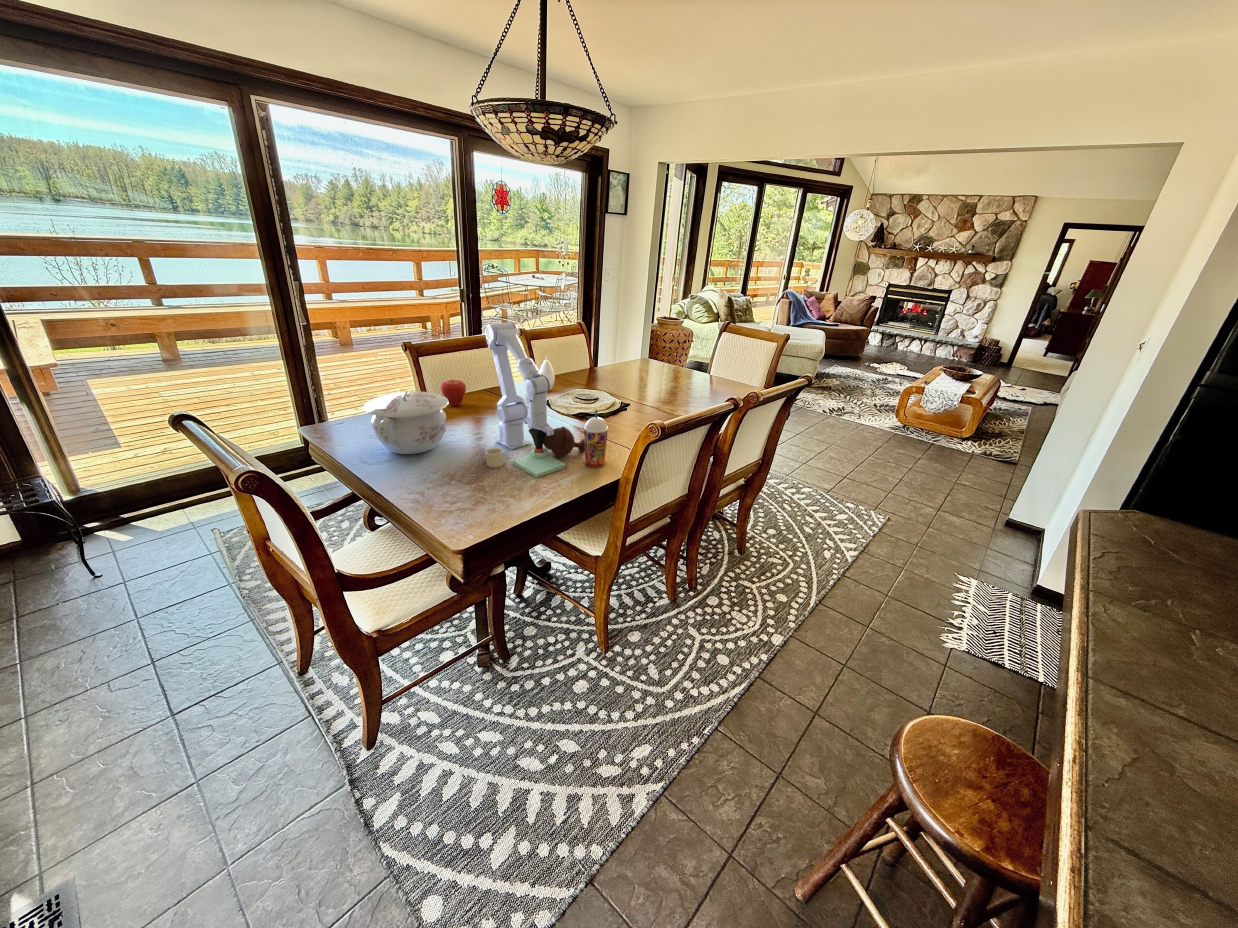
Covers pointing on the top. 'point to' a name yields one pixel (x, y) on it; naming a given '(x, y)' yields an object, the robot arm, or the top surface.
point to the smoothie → (595, 441)
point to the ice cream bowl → (562, 442)
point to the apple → (453, 391)
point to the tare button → (539, 450)
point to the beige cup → (494, 457)
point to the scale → (538, 463)
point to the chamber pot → (408, 420)
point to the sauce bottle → (548, 372)
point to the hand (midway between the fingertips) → (539, 448)
